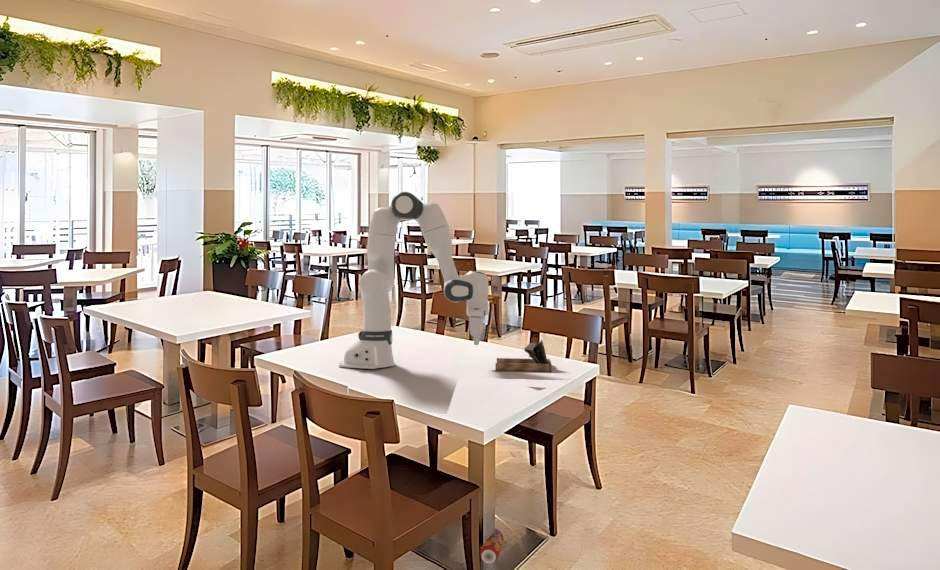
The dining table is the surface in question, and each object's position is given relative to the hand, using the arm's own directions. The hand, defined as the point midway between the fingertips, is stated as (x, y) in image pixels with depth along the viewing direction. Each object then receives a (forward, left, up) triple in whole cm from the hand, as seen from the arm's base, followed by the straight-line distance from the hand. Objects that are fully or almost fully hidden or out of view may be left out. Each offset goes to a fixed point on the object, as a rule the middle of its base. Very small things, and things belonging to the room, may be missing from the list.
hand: (476, 344), depth 252 cm
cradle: (+19, 0, -9) cm, 21 cm away
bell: (+24, +2, -10) cm, 26 cm away
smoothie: (+7, -32, -72) cm, 79 cm away
